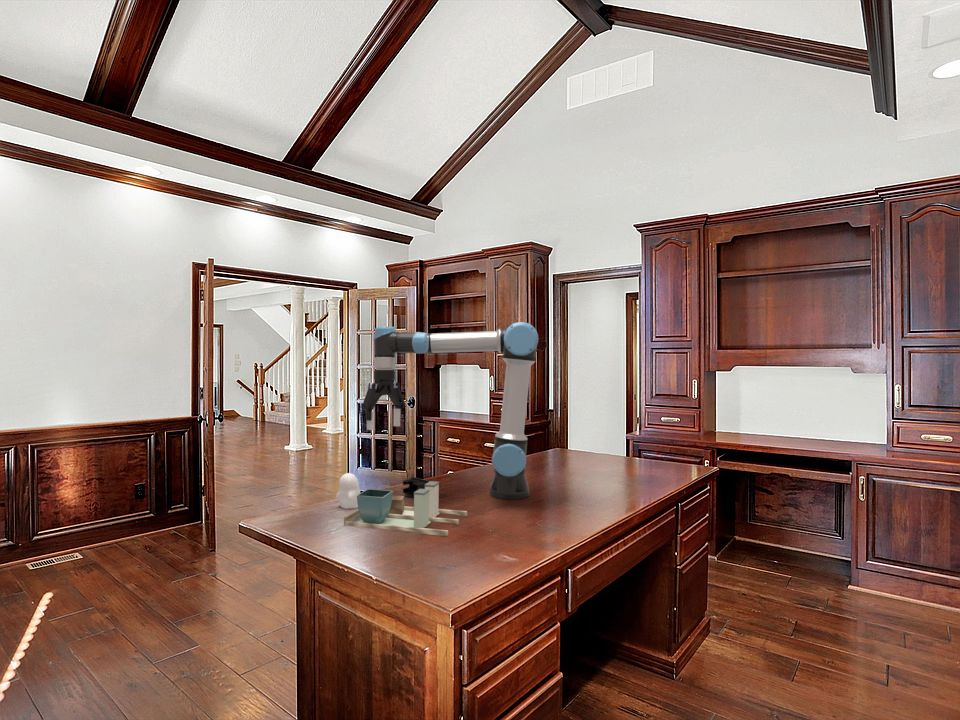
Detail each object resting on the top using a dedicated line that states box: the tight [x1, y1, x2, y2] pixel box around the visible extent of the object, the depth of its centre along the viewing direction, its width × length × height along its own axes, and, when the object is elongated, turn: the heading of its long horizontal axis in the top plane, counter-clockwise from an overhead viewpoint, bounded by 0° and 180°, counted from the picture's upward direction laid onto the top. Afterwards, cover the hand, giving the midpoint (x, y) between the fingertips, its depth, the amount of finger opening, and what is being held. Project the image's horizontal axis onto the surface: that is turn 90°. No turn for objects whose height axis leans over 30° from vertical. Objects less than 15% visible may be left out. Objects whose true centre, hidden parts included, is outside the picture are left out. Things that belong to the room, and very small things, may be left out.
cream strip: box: [402, 480, 441, 518], centre depth 183 cm, size 22×8×11 cm, turn 76°
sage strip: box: [356, 489, 431, 528], centre depth 172 cm, size 22×10×11 cm, turn 76°
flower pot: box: [357, 488, 394, 524], centre depth 174 cm, size 9×9×9 cm
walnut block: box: [388, 495, 405, 515], centre depth 184 cm, size 5×5×5 cm
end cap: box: [402, 476, 430, 499], centre depth 207 cm, size 10×7×7 cm
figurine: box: [336, 472, 361, 510], centre depth 191 cm, size 7×8×12 cm
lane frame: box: [343, 505, 468, 537], centre depth 176 cm, size 33×22×3 cm
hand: (384, 428), depth 202 cm, fingers open, 13 cm apart
